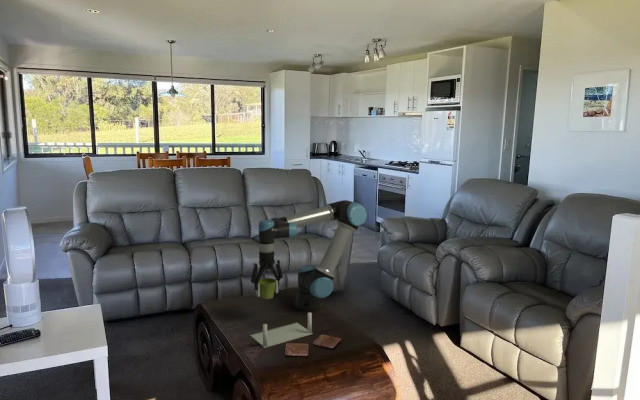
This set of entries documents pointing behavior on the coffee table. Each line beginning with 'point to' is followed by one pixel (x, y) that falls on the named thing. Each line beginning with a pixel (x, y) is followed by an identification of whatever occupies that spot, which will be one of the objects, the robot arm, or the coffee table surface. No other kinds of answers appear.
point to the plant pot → (267, 288)
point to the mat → (282, 333)
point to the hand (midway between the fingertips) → (267, 294)
